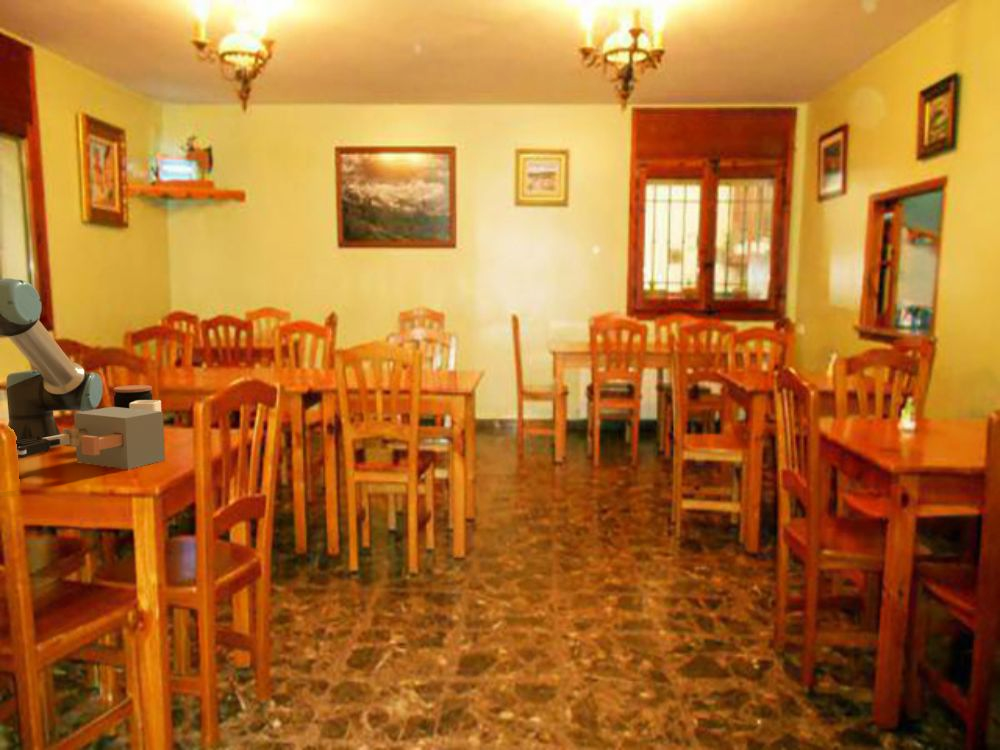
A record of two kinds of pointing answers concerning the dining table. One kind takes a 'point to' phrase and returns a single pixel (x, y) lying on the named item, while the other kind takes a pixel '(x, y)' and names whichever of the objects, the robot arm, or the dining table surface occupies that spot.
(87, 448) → the terracotta plunger
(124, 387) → the coffee jar
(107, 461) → the wall block
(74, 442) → the pale plunger
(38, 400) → the robot arm
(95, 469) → the dining table surface
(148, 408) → the cup
